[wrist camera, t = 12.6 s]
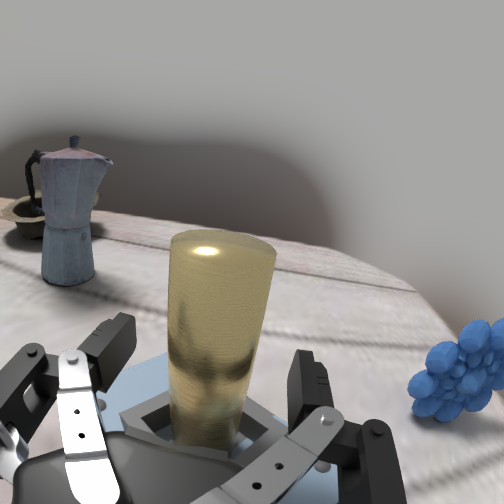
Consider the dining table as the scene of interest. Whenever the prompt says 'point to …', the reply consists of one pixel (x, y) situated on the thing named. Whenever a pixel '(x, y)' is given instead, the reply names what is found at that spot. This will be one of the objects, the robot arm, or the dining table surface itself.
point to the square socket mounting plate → (248, 437)
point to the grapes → (461, 373)
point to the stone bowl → (30, 215)
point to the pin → (214, 331)
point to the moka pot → (67, 210)
